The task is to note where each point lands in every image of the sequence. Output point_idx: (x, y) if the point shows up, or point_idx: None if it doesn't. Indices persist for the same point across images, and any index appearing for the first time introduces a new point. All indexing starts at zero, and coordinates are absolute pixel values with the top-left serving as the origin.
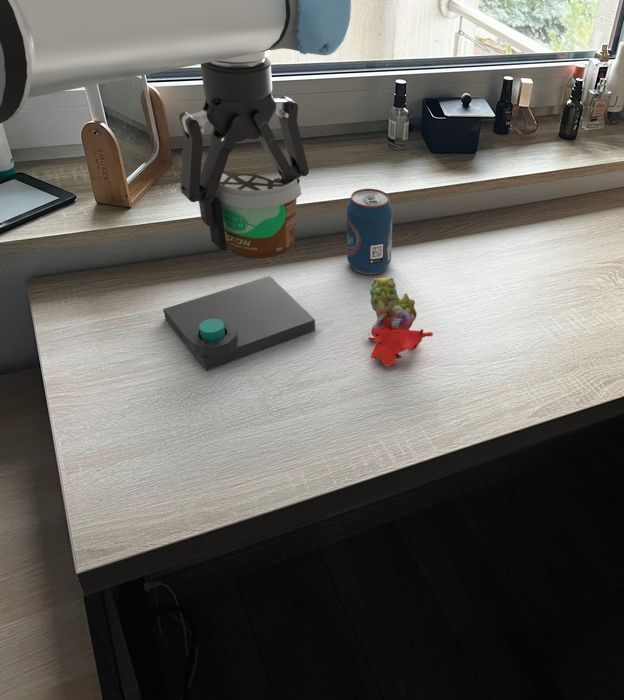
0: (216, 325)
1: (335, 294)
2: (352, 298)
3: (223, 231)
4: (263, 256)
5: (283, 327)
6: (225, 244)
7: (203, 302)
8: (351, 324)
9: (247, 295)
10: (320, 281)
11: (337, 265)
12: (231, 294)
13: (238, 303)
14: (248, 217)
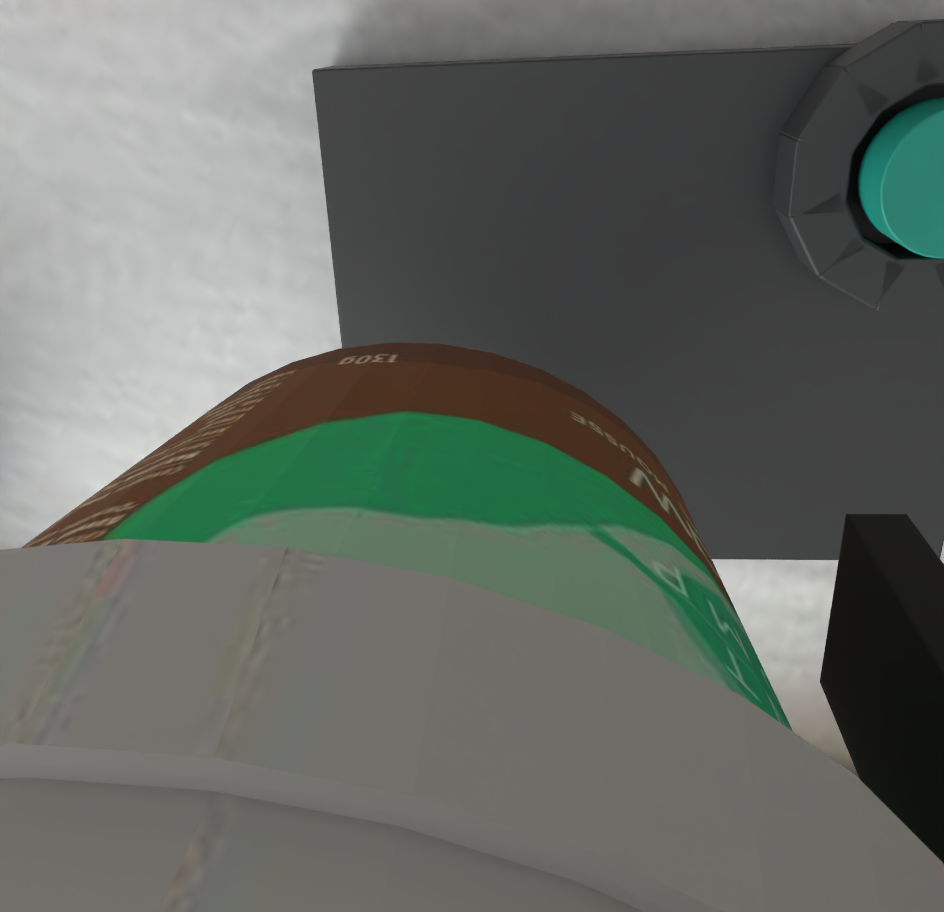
0: (934, 169)
1: (109, 314)
2: (36, 237)
3: (933, 633)
4: (524, 366)
5: (508, 93)
6: (869, 541)
7: (754, 515)
8: (123, 12)
9: None
10: (141, 448)
11: (18, 522)
12: None
13: None
14: (670, 640)
